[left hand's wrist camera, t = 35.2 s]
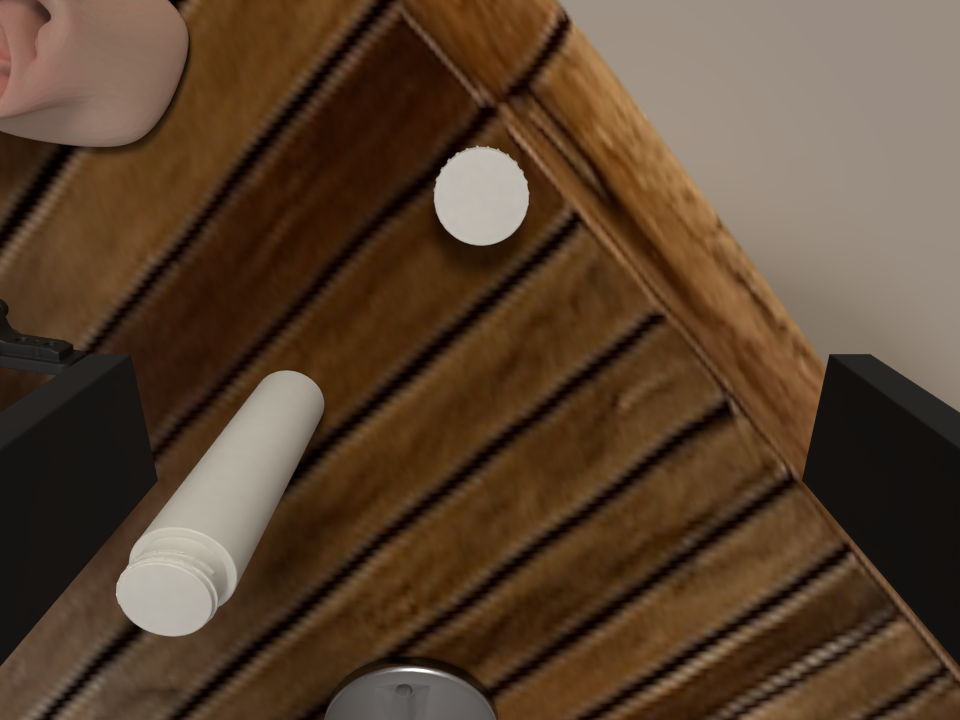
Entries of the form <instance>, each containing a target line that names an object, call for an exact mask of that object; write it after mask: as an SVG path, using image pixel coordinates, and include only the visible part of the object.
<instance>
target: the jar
mask: <svg viewBox="0 0 960 720" xmlns="http://www.w3.org/2000/svg"><path fill="white" fill-rule="evenodd" d="M323 411H324V398H323V395H322V393H321V391H320V389H319V387H318V386H317V385H316V384H315V382H313V381H312V380H311V379H310V378H309V377H307V376H305V375H303V374H301V373H298V372H294V371H278V372H275V373H272V374H270V375H268V376H267V377H265V378H264V379H263V380H262V381H261V383H260V384H259V385H258V386H257V388H256V389H255V390H254V392H253V393H252V394H251V396H250V397H249V398H248V399H247V401H246V402H245V403H244V405H243V406H242V407H241V408H240V410H239V411H238V412H237V414H236V415H235V416H234V417H233V419H232V420H231V421H230V423H229V424H228V425H227V426H226V428H225V429H224V430H223V432H222V433H221V434H220V435H219V437H218V438H217V439H216V441H215V442H214V443H213V444H212V446H211V447H210V448H209V450H208V451H207V452H206V453H205V455H204V456H203V457H202V459H201V460H200V461H199V462H198V464H197V465H196V466H195V468H194V469H193V470H192V472H191V473H190V474H189V475H188V477H187V478H186V479H185V481H184V482H183V483H182V484H181V486H180V487H179V488H178V490H177V491H176V492H175V493H174V495H173V496H172V497H171V499H170V500H169V501H168V502H167V504H166V505H165V506H164V508H163V509H162V510H161V511H160V513H159V514H158V515H157V517H156V518H155V519H154V520H153V522H152V523H151V524H150V526H149V527H148V528H147V529H146V531H145V532H144V533H143V535H142V536H141V537H140V539H139V540H138V541H137V542H136V544H135V545H134V547H133V549H132V551H131V554H130V559H129V565H128V566H127V568H126V570H125V571H124V572H123V573H122V574H121V576H120V578H119V580H118V583H117V590H116V597H117V600H118V603H119V604H120V606H121V608H122V610H123V611H124V613H125V614H126V615H127V616H128V618H129V619H130V620H131V621H133V622H134V623H135V624H136V625H138V626H139V627H141V628H143V629H145V630H147V631H149V632H152V633H155V634H158V635H163V636H182V635H187V634H190V633H193V632H195V631H197V630H198V629H200V628H201V627H202V626H204V625H205V624H206V623H207V622H208V621H209V620H210V619H211V618H212V617H213V615H214V614H215V612H216V610H217V608H218V607H219V606H221V605H222V604H224V603H225V602H226V601H227V600H228V599H229V598H230V597H231V596H232V594H233V593H234V591H235V589H236V587H237V585H238V583H239V581H240V579H241V577H242V575H243V573H244V571H245V569H246V567H247V565H248V563H249V561H250V559H251V557H252V555H253V553H254V551H255V549H256V547H257V545H258V543H259V541H260V539H261V537H262V535H263V533H264V531H265V529H266V527H267V525H268V523H269V521H270V519H271V517H272V515H273V513H274V511H275V509H276V507H277V505H278V503H279V501H280V499H281V497H282V495H283V493H284V491H285V489H286V487H287V485H288V483H289V481H290V479H291V477H292V475H293V473H294V471H295V469H296V467H297V465H298V463H299V461H300V459H301V457H302V455H303V453H304V451H305V449H306V447H307V445H308V443H309V441H310V439H311V437H312V435H313V433H314V431H315V429H316V427H317V425H318V423H319V421H320V419H321V417H322V414H323Z"/></svg>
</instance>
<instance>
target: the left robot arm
mask: <svg viewBox="0 0 960 720" xmlns="http://www.w3.org/2000/svg"><path fill="white" fill-rule="evenodd" d="M157 481H158V479H157V474H156V470H155V465H154V460H153V456H152V451H151V447H150V442H149V437H148V433H147V428H146V424H145V419H144V414H143V410H142V405H141V401H140V396H139V391H138V387H137V382H136V378H135V373H134V368H133V364H132V359H131V354H89V355H88V356H86V357H85V358H83V359H82V360H80V361H79V362H77V363H76V364H74V365H73V366H71V367H69V368H68V369H66V370H65V371H63V372H62V373H60V374H59V375H57V376H56V377H54V378H53V379H51V380H50V381H48V382H46V383H45V384H43V385H42V386H40V387H39V388H37V389H36V390H34V391H33V392H31V393H30V394H28V395H27V396H25V397H23V398H22V399H20V400H19V401H17V402H16V403H14V404H13V405H11V406H10V407H8V408H7V409H5V410H4V411H2V412H0V666H1V665H2V664H3V663H4V661H5V660H6V659H7V658H8V657H9V655H10V654H11V653H12V652H13V651H14V650H15V648H16V647H17V646H18V645H19V644H20V643H21V641H22V640H23V639H24V638H25V637H26V635H27V634H28V633H29V632H30V631H31V630H32V628H33V627H34V626H35V625H36V624H37V622H38V621H39V620H40V619H41V618H42V617H43V615H44V614H45V613H46V612H47V611H48V609H49V608H50V607H51V606H52V605H53V604H54V602H55V601H56V600H57V599H58V598H59V596H60V595H61V594H62V593H63V592H64V591H65V589H66V588H67V587H68V586H69V585H70V583H71V582H72V581H73V580H74V579H75V578H76V576H77V575H78V574H79V573H80V572H81V570H82V569H83V568H84V567H85V566H86V565H87V563H88V562H89V561H90V560H91V559H92V557H93V556H94V555H95V554H96V553H97V552H98V550H99V549H100V548H101V547H102V546H103V544H104V543H105V542H106V541H107V540H108V539H109V537H110V536H111V535H112V534H113V533H114V531H115V530H116V529H117V528H118V527H119V526H120V524H121V523H122V522H123V521H124V520H125V519H126V517H127V516H128V515H129V514H130V513H131V511H132V510H133V509H134V508H135V507H136V506H137V504H138V503H139V502H140V501H141V500H142V498H143V497H144V496H145V495H146V494H147V493H148V491H149V490H150V489H151V488H152V487H153V485H154V484H155V483H156V482H157ZM802 481H803V482H804V483H805V484H806V485H807V487H808V488H809V489H810V490H811V491H812V493H813V494H814V495H815V496H816V497H817V498H818V500H819V501H820V502H821V503H822V504H823V506H824V507H825V508H826V509H827V510H828V511H829V513H830V514H831V515H832V516H833V517H834V519H835V520H836V521H837V522H838V523H839V524H840V526H841V527H842V528H843V529H844V530H845V531H846V533H847V534H848V535H849V536H850V537H851V539H852V540H853V541H854V542H855V543H856V544H857V546H858V547H859V548H860V549H861V550H862V552H863V553H864V554H865V555H866V556H867V557H868V559H869V560H870V561H871V562H872V563H873V565H874V566H875V567H876V568H877V569H878V570H879V572H880V573H881V574H882V575H883V576H884V578H885V579H886V580H887V581H888V582H889V583H890V585H891V586H892V587H893V588H894V589H895V591H896V592H897V593H898V594H899V595H900V596H901V598H902V599H903V600H904V601H905V602H906V604H907V605H908V606H909V607H910V608H911V609H912V611H913V612H914V613H915V614H916V615H917V617H918V618H919V619H920V620H921V621H922V622H923V624H924V625H925V626H926V627H927V628H928V630H929V631H930V632H931V633H932V634H933V635H934V637H935V638H936V639H937V640H938V641H939V643H940V644H941V645H942V646H943V647H944V648H945V650H946V651H947V652H948V653H949V654H950V655H951V657H952V658H953V659H954V660H955V661H956V663H957V664H958V665H959V666H960V412H958V411H956V410H955V409H953V408H952V407H950V406H949V405H947V404H946V403H944V402H943V401H941V400H940V399H938V398H936V397H935V396H933V395H932V394H930V393H929V392H927V391H926V390H924V389H923V388H921V387H920V386H918V385H917V384H915V383H913V382H912V381H910V380H909V379H907V378H906V377H904V376H903V375H901V374H900V373H898V372H897V371H895V370H894V369H892V368H891V367H889V366H887V365H886V364H884V363H883V362H881V361H880V360H878V359H877V358H875V357H874V356H872V355H871V354H830V355H829V359H828V364H827V368H826V373H825V378H824V382H823V387H822V391H821V396H820V401H819V405H818V410H817V414H816V419H815V424H814V428H813V433H812V437H811V442H810V447H809V451H808V456H807V460H806V465H805V470H804V474H803V479H802ZM324 720H498V713H497V709H496V706H495V703H494V701H493V699H492V697H491V695H490V694H489V692H488V691H487V690H486V688H485V687H484V686H483V685H482V684H481V683H480V682H479V681H478V680H477V679H475V678H474V677H473V676H472V675H470V674H468V673H467V672H465V671H464V670H462V669H460V668H458V667H456V666H453V665H451V664H448V663H445V662H442V661H438V660H434V659H429V658H422V657H396V658H389V659H384V660H380V661H376V662H373V663H370V664H368V665H365V666H363V667H361V668H359V669H357V670H356V671H354V672H353V673H351V674H350V675H348V676H347V677H346V678H345V679H344V680H343V681H342V682H341V683H340V684H339V685H338V686H337V687H336V689H335V690H334V692H333V693H332V695H331V698H330V700H329V703H328V706H327V710H326V714H325V718H324Z"/></svg>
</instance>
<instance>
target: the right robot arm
mask: <svg viewBox="0 0 960 720" xmlns="http://www.w3.org/2000/svg"><path fill="white" fill-rule="evenodd" d="M7 314H8V306H7V304H6V303H5V302H4V301H3V300H1V299H0V367H2V368H9V369H16V370H23V371H30V372H37V373H44V374H51V375H59V374H60V373H62V372H63V371H65V370H66V369H68V368H69V367H71V366H73V365H74V364H76V363H77V362H79V361H80V360H82V359H83V358H85V357H84V352H83V351H79V350H73V345H72V344H70V343H68V342H66V341H64V340H57V339H51V338H44V337H37V336H30V335H23V334H20V333H19V332H18V331H17V330H15V329H12V328H11V327H10V325H9V323H8V321H7V319H6V317H5V316H6V315H7Z"/></svg>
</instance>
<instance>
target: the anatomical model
mask: <svg viewBox="0 0 960 720" xmlns="http://www.w3.org/2000/svg"><path fill="white" fill-rule="evenodd" d="M188 40H189V38H188V31H187V27H186V24H185V22H184V20H183V18H182V17H181V15H180V14H179V12H178V11H177V10H176V8H175V7H174V6H173V5H172V4H171V3H170V2H169V1H168V0H0V131H2V132H5V133H9V134H12V135H15V136H20V137H24V138H28V139H33V140H39V141H44V142H51V143H58V144H66V145H75V146H88V147H112V146H121V145H126V144H129V143H132V142H134V141H136V140H138V139H140V138H142V137H143V136H144V135H146V134H147V133H148V132H149V131H150V130H151V129H152V128H153V127H154V126H155V125H156V123H157V122H158V121H159V120H160V118H161V117H162V116H163V114H164V112H165V110H166V109H167V107H168V105H169V103H170V101H171V99H172V97H173V95H174V93H175V90H176V88H177V86H178V83H179V80H180V77H181V75H182V72H183V69H184V65H185V61H186V58H187V52H188Z"/></svg>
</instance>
